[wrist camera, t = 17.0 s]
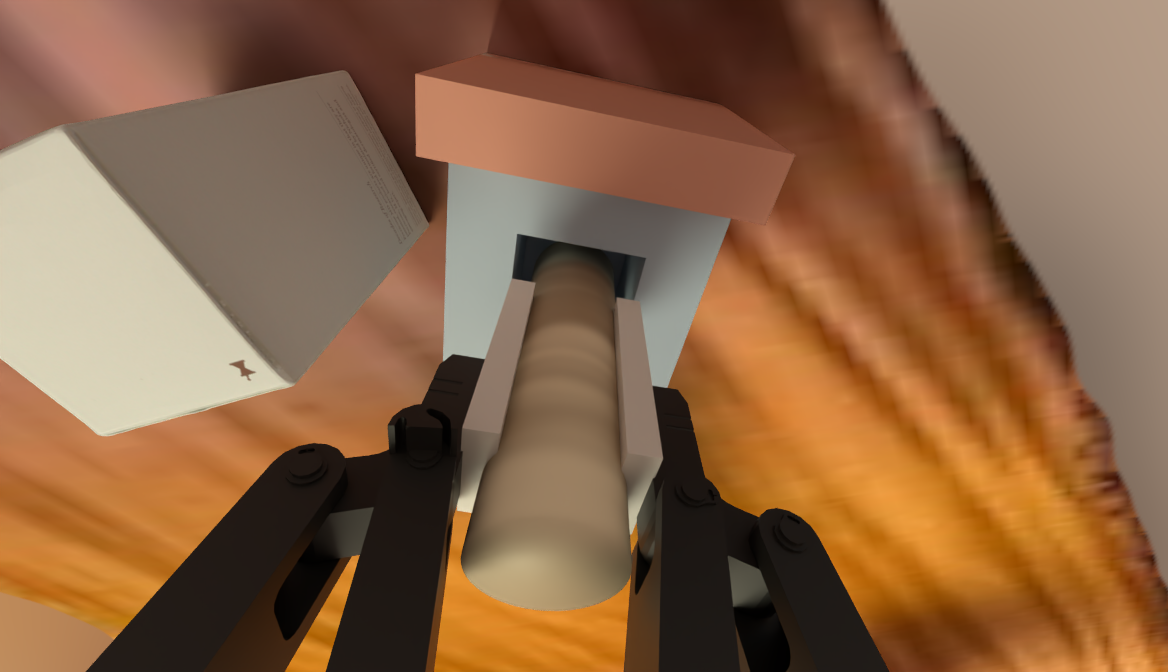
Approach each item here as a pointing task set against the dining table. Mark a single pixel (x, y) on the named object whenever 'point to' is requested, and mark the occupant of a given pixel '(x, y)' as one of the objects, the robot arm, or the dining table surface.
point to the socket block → (571, 215)
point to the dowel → (557, 452)
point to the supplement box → (195, 247)
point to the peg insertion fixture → (597, 136)
